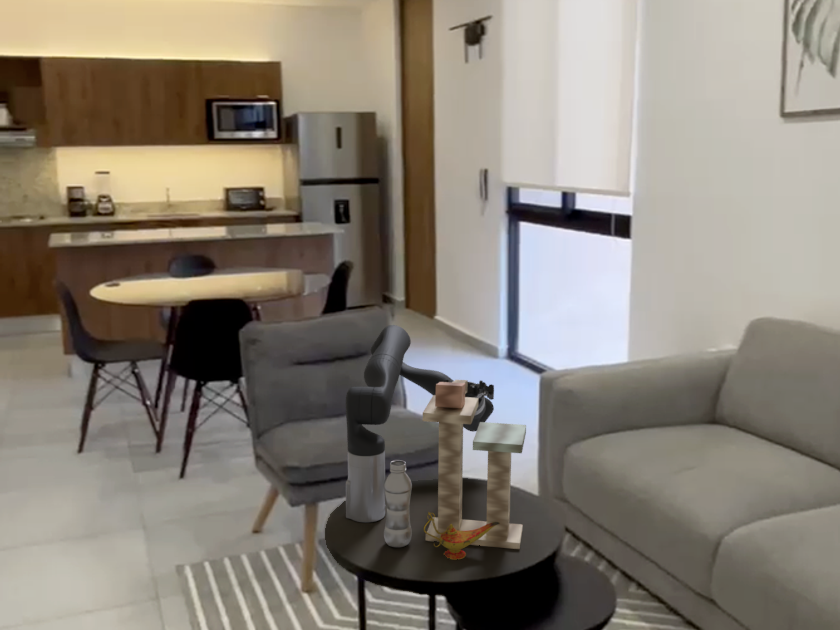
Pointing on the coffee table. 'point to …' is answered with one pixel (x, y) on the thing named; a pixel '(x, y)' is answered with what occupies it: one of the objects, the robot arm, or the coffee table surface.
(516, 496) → the coffee table surface
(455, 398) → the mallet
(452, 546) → the magic lamp
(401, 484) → the plastic bottle
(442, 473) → the stepped stand
